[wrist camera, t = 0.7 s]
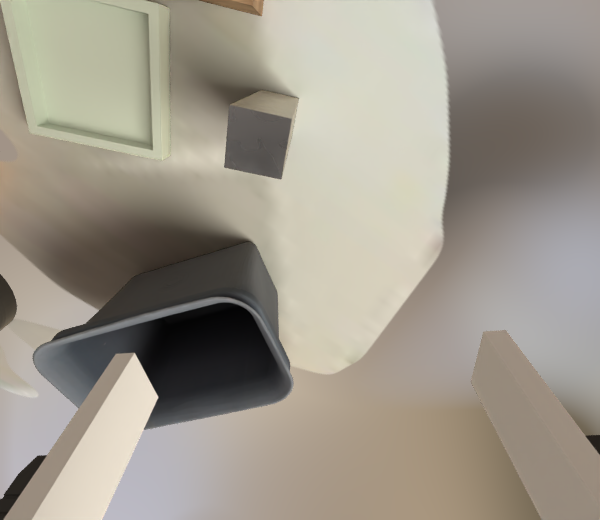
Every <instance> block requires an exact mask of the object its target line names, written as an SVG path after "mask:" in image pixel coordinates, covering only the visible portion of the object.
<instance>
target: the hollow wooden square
mask: <svg viewBox="0 0 600 520" xmlns="http://www.w3.org/2000/svg"><path fill="white" fill-rule="evenodd" d="M200 1H204V2H207V3H211V4H215V5H219V6H223V7H227V8H231V9H235V10H239V11H243V12H247V13H251V14H255V15H259V16H262V10H263V1H264V0H200Z"/></svg>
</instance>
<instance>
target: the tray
mask: <svg viewBox="0 0 600 520" xmlns="http://www.w3.org/2000/svg"><path fill="white" fill-rule="evenodd" d="M0 4H1V8H2V13H3V17H4V22H5V26H6V31H7V35H8V39H9V44H10V48H11V53H12V57H13V62H14V66H15V71H16V75H17V80H18V84H19V88H20V93H21V97H22V102H23V106H24V111H25V115H26V120H27V124H28V129H29V133H30V134H35V135H40V136H45V137H49V138H54V139H59V140H64V141H69V142H73V143H78V144H83V145H88V146H93V147H98V148H102V149H107V150H112V151H117V152H122V153H126V154H131V155H136V156H141V157H146V158H151V159H155V160H160V161H163V160H164V159H166V158H167V157H169V156H171V149H170V8H168V7H165V6H163V5H161V4H158V3H154V2H150V1H146V0H0Z"/></svg>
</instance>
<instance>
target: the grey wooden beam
mask: <svg viewBox="0 0 600 520" xmlns="http://www.w3.org/2000/svg"><path fill="white" fill-rule="evenodd" d="M298 101H299V98H295V97H291V96H287V95H282V94H278V93H274V92H269V91H265V90H261V91H259V92H257V93H254V94H252V95H250V96H248V97H245V98H243V99H241V100H239V101H236V102H234V103H232V104H230V105H229V116H228V128H227V141H226V153H225V165H224V168H229V169H234V170H239V171H243V172H248V173H253V174H258V175H263V176H267V177H272V178H277V179H282V175H283V171H284V167H285V163H286V159H287V155H288V151H289V147H290V142H291V138H292V134H293V128H294V123H295V117H296V112H297V106H298Z"/></svg>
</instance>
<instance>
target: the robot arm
mask: <svg viewBox="0 0 600 520" xmlns="http://www.w3.org/2000/svg"><path fill="white" fill-rule="evenodd" d="M16 310H17V305H16V299H15V296H14V294H13V291H12V290H11V288H10V286H9V285H8V283H7V282H6V280H5V279H4V278H3V277H2V276H1V274H0V330H2V329H3V328H4V327H5V326H7V325H8V324H9V323H10V322H11V321H12V320H13V318H14V317H15V314H16ZM471 384H472V386H473V388H474V389H475V391H476V393H477V395H478V397H479V399H480V401H481V403H482V405H483V407H484V409H485V411H486V413H487V415H488V416H489V419H490V420H491V422H492V424H493V426H494V428H495V430H496V432H497V434H498V436H499V438H500V440H501V442H502V443H503V446H504V448H505V449H506V451H507V453H508V455H509V457H510V459H511V461H512V463H513V465H514V467H515V469H516V471H517V473H518V475H519V476H520V479H521V481H522V482H523V484H524V486H525V488H526V490H527V492H528V494H529V496H530V498H531V500H532V502H533V504H534V506H535V507H536V510H537V512H538V514H539V515H540V517H541V519H542V520H600V435H591V436H585V435H584V434H583V432H582V431H581V430H580V428H579V427H578V426H577V424H576V423H575V422H574V420H573V419H572V418H571V416H570V415H569V414H568V412H567V411H566V410H565V408H564V407H563V406H562V404H561V403H560V402H559V400H558V399H557V398H556V396H555V395H554V394H553V393H552V391H551V390H550V389H549V387H548V386H547V384H546V383H545V382H544V381H543V379H542V378H541V376H540V375H539V374H538V372H537V371H536V370H535V369H534V367H533V366H532V365H531V363H530V362H529V360H528V359H527V358H526V357H525V355H524V354H523V353H522V351H521V350H520V349H519V347H518V346H517V345H516V343H515V342H514V341H513V339H512V338H511V337H510V335H509V334H508V333H507V331H506V330H502V331H486V332H483V335H482V339H481V344H480V348H479V351H478V356H477V359H476V363H475V367H474V371H473V375H472V379H471ZM157 399H158V396H157V394H156V392H155V390H154V388H153V386H152V384H151V383H150V381H149V379H148V377H147V375H146V373H145V371H144V369H143V368H142V366H141V364H140V362H139V360H138V358H137V356H136V354H135V353H122V354H116V355H115V356H114V357H113V359H112V360H111V362H110V363H109V365H108V366H107V368H106V369H105V371H104V372H103V374H102V375H101V377H100V378H99V380H98V381H97V383H96V384H95V385H94V387H93V388H92V390H91V391H90V393H89V394H88V396H87V397H86V399H85V400H84V402H83V403H82V405H81V406H80V408H79V409H78V411H77V412H76V413H75V415H74V417H73V418H72V419H71V421H70V422H69V424H68V425H67V427H66V428H65V430H64V431H63V433H62V434H61V436H60V437H59V439H58V440H57V442H56V443H55V445H54V446H53V447H52V449H51V450H50V452H49V453H48V455H45V456H37V457H36V458H35V459H34V460H33V461H32V462H31V463H30V464H29V465H27V467H25V468H24V469H23V470H22V471H21V472H20V473H19V474H18V476H17V477H16V478H15V480H14V481H13V483H12V484H11V485H10V487H9V488H8V490H7V491H6V492H5V494H4V497H3V498H2V499H0V520H102V519H103V516H104V514H105V512H106V510H107V508H108V506H109V504H110V501H111V499H112V497H113V495H114V493H115V491H116V488H117V486H118V484H119V482H120V480H121V477H122V475H123V473H124V471H125V469H126V467H127V464H128V462H129V460H130V458H131V456H132V454H133V451H134V449H135V447H136V445H137V443H138V440H139V438H140V436H141V434H142V432H143V430H144V427H145V425H146V423H147V421H148V419H149V417H150V414H151V412H152V410H153V408H154V406H155V403H156V401H157Z"/></svg>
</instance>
